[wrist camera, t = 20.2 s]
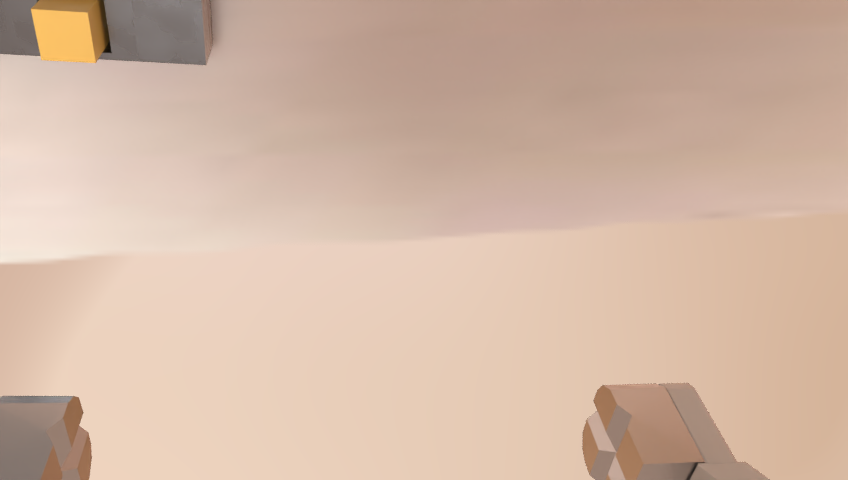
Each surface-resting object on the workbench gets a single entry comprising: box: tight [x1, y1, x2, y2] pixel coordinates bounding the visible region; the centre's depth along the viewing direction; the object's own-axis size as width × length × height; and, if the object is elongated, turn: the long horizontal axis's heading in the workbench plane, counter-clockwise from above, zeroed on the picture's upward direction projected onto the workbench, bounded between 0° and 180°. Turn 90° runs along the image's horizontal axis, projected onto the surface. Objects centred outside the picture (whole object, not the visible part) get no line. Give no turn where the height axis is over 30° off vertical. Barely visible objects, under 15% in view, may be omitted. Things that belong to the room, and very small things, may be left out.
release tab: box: [31, 0, 110, 63], centre depth 35 cm, size 2×2×4 cm
